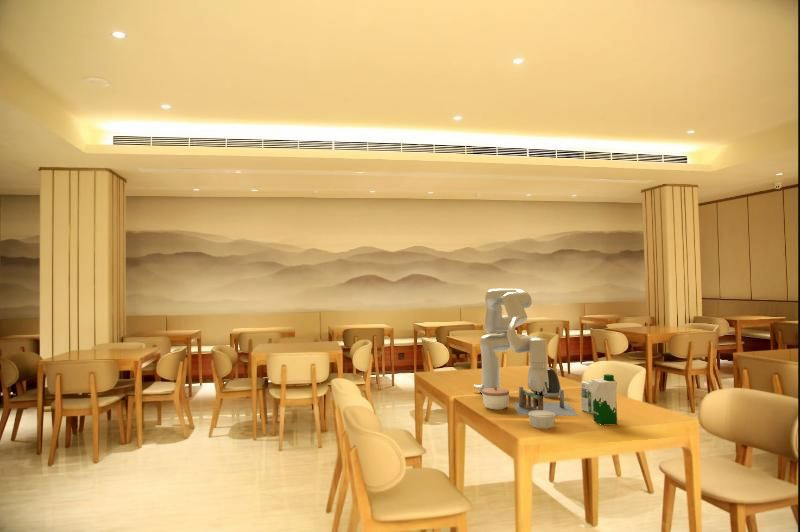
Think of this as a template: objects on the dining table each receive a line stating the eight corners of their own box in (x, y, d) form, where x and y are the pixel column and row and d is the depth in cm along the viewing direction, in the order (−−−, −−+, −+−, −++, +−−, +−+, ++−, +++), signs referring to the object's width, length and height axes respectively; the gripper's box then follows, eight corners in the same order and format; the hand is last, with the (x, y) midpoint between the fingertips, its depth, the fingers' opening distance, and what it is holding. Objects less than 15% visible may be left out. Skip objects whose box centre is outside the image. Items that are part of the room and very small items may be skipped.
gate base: (517, 417, 235) (517, 393, 235) (513, 404, 258) (513, 383, 259) (578, 418, 231) (577, 394, 231) (568, 405, 255) (567, 383, 255)
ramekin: (544, 431, 213) (543, 418, 213) (522, 425, 222) (522, 412, 222) (561, 426, 219) (561, 413, 219) (540, 421, 228) (539, 408, 228)
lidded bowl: (493, 414, 240) (492, 390, 240) (477, 408, 251) (476, 385, 252) (515, 410, 246) (514, 387, 246) (498, 405, 257) (497, 382, 257)
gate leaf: (521, 406, 247) (521, 390, 248) (524, 406, 248) (524, 390, 248) (540, 414, 233) (539, 397, 233) (543, 413, 233) (543, 396, 233)
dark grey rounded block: (562, 396, 274) (561, 367, 274) (559, 400, 264) (558, 370, 265) (542, 395, 278) (541, 366, 279) (538, 399, 269) (538, 369, 269)
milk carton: (620, 425, 220) (619, 376, 220) (599, 425, 219) (598, 377, 219) (610, 419, 228) (609, 373, 229) (590, 420, 228) (589, 373, 228)
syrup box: (581, 413, 239) (580, 381, 240) (591, 412, 242) (590, 380, 242) (589, 416, 234) (589, 383, 234) (600, 414, 236) (599, 382, 237)
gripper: (521, 363, 245) (522, 403, 244) (541, 368, 231) (542, 410, 230) (534, 362, 248) (535, 401, 247) (555, 367, 234) (556, 408, 233)
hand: (539, 405), depth 239 cm, fingers closed
